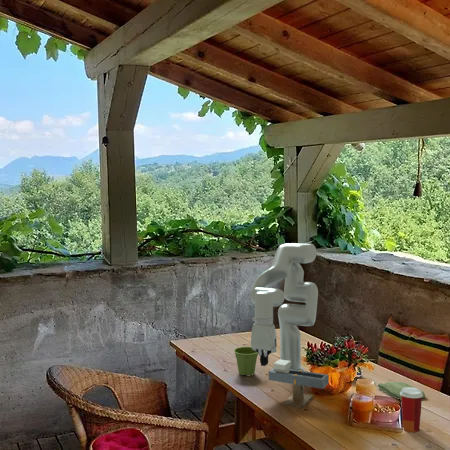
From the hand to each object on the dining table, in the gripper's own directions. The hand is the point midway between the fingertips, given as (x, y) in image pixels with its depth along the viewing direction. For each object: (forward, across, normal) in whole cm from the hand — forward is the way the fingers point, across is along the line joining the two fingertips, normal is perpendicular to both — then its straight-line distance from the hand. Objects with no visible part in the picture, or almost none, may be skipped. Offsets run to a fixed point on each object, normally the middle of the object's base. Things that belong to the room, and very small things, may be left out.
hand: (264, 364), depth 239 cm
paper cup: (+13, +60, -7) cm, 62 cm away
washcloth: (+13, +50, +28) cm, 59 cm away
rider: (+3, +8, 0) cm, 8 cm away
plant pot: (+13, -18, +21) cm, 30 cm away
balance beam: (+13, +15, 0) cm, 20 cm away
